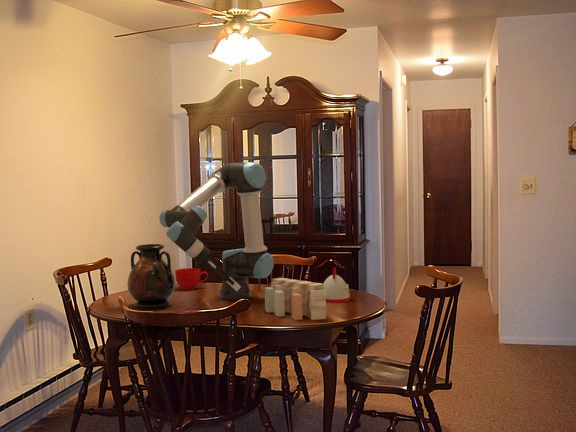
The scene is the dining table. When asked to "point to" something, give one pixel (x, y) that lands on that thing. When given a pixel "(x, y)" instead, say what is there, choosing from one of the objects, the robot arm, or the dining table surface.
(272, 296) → the sage key
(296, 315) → the salmon pink upright block
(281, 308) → the grey key
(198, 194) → the robot arm
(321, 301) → the cream notched block
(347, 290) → the white and red dome
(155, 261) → the amphora vase
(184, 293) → the dining table surface
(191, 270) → the ceramic cup
